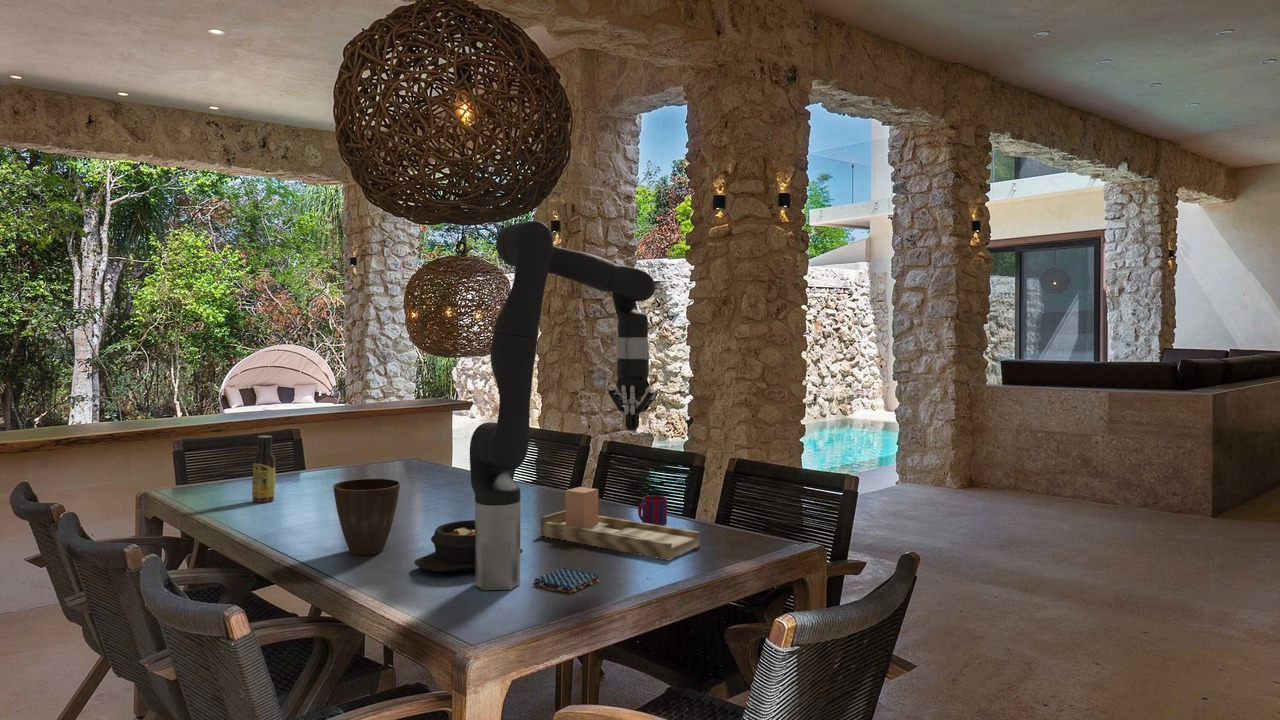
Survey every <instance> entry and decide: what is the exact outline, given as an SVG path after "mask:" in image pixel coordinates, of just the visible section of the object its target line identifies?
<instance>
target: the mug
mask: <svg viewBox="0 0 1280 720" xmlns="http://www.w3.org/2000/svg"><path fill="white" fill-rule="evenodd" d="M637 514H638V518H639V519H640V521H641V522H643V523H648V524H655V525H661V524H664V525H666V524H667V523H668V521H667V520H668V517H667V516H668V498H667V497H666V496H664V495H663V496H662V495H646V496H643V497H642V501H641V503H639V505H638V509H637ZM661 526H662V525H661Z"/></svg>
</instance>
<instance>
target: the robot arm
mask: <svg viewBox="0 0 1280 720" xmlns="http://www.w3.org/2000/svg"><path fill="white" fill-rule="evenodd" d="M496 237H497V238H496V240H495V248H496V252H497V254H498V256H499V258H500V259H501V260H502V261H503V262H504V263H505V264H507V265H509V266H511V267H514V268H515V269H514V277H513V283H512V287H511V290H510V292H509V294H508V296H507V298H506V300H505V302H504V304H503V306H502V308H501V310H500V312H499V314H498V316H497V318H496V320H495V324H494V327H493V331H492V339H491V347H490V364H491V369H492V373H493V375H494V376H493V377H494V378H495V379H494V380H495V383H496V387H497V390H498V397H499V399H498V400H499V403H498V404H499V405H498V406H499V407H498V413H497V421H496V422H494V421H489V422H488V421H487V422H484V423H481V424H479V425H478V426H477V427H476V429H474V431H473V432H472V436H471V438H470V443H469V470H470V483H471V489H472V492H473V494H474V520H475V571H474V584H475V587H476V588H479V589H480V591H503V590H504V591H507V590H513V588H515V587H517V586H519V585H520V584H521V554H520V548H521V488H520V486H519V484H517V482H515V481H514V480H513V479H512V477H511V475H510V473H509V471H513V470H516V469H518V468H520V467H521V465H522V464H523V463H524V462H525V459H526V457H527V455H528V451H529V443H530V418H531V417H530V415H531V413H530V412H531V395H532V386H533V377H534V367H535V361H536V356H537V348H538V340H539V329H540V327H539V326H540V320H541V314H542V309H543V302H544V300H543V299H544V294H545V293H544V292H545V289H546V284H547V280H548V279H547V278H548V275H549V274H551V275H555V276H559V277H560V278H561V277H562V278H564V279H567V280H571V281H573V282H576V283H579V284H581V285H584V286H587V287H588V288H592V289H595V290H598V291H600V292H606V293H611V296H612V300H613V305H614V308H615V309H614V310H615V313H616V316H617V321H618V323H617V344H616V376H617V380H616V383H615V384H616V385H615V387H613V388H612V389H609V390H608V392H607V393H608V395H609V397H610V398H611V400H612V401H613V404H614V405H615V406H616V408H617V410H618V411H619V412H622V413H624V415H625V428H626V429H627V431H634V432H635V431H637V430H638V428H640V427H639V426H640V414H641V413H646V412H647V410H648V409H649V408H650V406H651V405H652V403H653V402H654V401H655V399H656V398H657V396H658V392H657V391H653V389H651V387H650V383H649V380H648V378H649V374H650V373H649V369H650V366H649V364H650V362H649V361H650V358H649V356H650V346H649V337H648V336H649V318H648V316H647V314H646V313H644V312H641V311H640V310H639V309H638V305H637V302H644V301H647V300H649V299H651V298H652V297H653V295H654V294H655V290H656V284H655V280H654V278H653V277H652V276H651V275H650V274H649V273H648V272H646V271H645V270H642V269H639V268H635V267H633V266H632V267H631V266H627V265H624V264H623V265H622V264H617V263H614V262H612V261H611V260H609V259H606V258H603V257H601V256H598V255H596V254H595V255H594V254H591V253H588V252H583V251H579V250H573V249H568V248H564V247H561V246H556V245H554V239H553V234H552V232H551V230H550V228H549V227H548V226H547V224H546V223H544V222H542V221H539V220H529V221H523V222H519V223H513V224H509V225H507V226H506V227H505V228H503V229H501V230H500V232H499V233H498V235H497V236H496Z"/></svg>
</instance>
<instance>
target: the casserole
mask: <svg viewBox="0 0 1280 720" xmlns="http://www.w3.org/2000/svg"><path fill="white" fill-rule="evenodd" d="M430 541H431V543H432V544H433V545H434V550H435V551H433V552H431V553H429V554H426V555H425V556H422V557H419V558H416V559H415V560H414V564H415V565H416V567H419V568H421V569H422V570H423V569H424V570H426V571H432V572H440V573H441V572H442V573H443V572H450V571H451V572H452V571H457V572H475V519H474V520H459V521H452V522H448V523H444V524H442V525H439V526H437V527H436V528H435V530H434V533H433V535H432V536H431V538H430ZM523 551H524V550H523V549H522V548H521V547H520V555H521V554H522V553H523Z"/></svg>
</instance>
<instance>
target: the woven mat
mask: <svg viewBox="0 0 1280 720" xmlns="http://www.w3.org/2000/svg"><path fill="white" fill-rule="evenodd" d="M533 581H534V582H533V583H532V586H533V585H536V586H539V587H538V588H540V587H543V588H542V589H545V588H549V589H548V590H550V589H554V590H557V591H556V592H558V591H562V592H561V593H563V592H565V594H567V593H566V592H569V593H574V592H575V593H577V592H578V591H577V590H579V589H582V590H583V589H584V588H583V587H586V585H588V586H592V585H594V584H593V583H599V582H600V578H599V575H596V573H592V574H591V573H590V572H584V571H582V570H581V571H578V570H577V569H575V570H572V568H568V569H566V567H561V568H558V569H557V570H552V571H551V572H548V573H546V574H543V575H540V576H539V577H537V578H536V577H535V578H534V580H533ZM594 581H595V582H594ZM543 583H544V584H543ZM589 584H590V585H589ZM536 586H535V587H536ZM561 587H562V588H561ZM578 588H579V589H578ZM554 590H553V591H554ZM564 590H565V591H564ZM576 591H577V592H576Z"/></svg>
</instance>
